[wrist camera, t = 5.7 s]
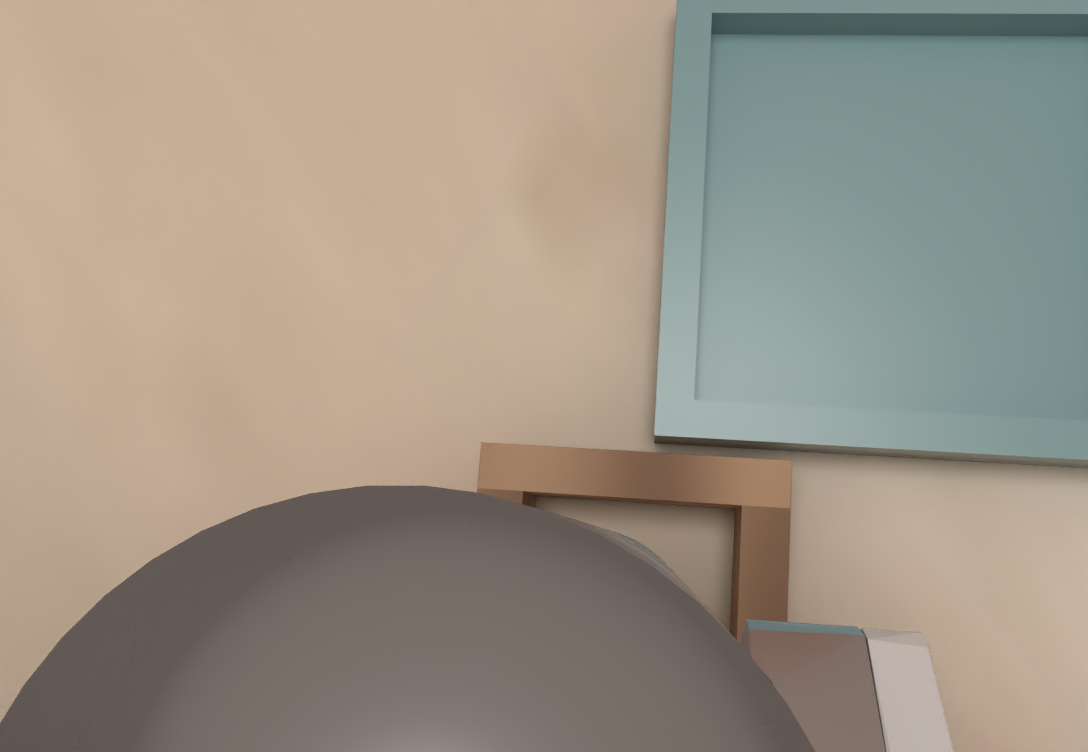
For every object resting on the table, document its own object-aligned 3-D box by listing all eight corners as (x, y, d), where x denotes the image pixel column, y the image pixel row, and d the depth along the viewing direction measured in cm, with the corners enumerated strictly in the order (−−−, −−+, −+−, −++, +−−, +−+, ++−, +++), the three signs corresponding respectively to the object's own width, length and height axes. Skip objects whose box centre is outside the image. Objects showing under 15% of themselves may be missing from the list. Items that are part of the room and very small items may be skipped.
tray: (654, 442, 28) (654, 435, 26) (677, 16, 30) (677, -21, 28) (1144, 470, 26) (1183, 465, 24) (1133, 18, 28) (1167, -21, 27)
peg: (459, 754, 15) (-155, 1457, 4) (478, 519, 16) (4, 457, 4) (694, 777, 15) (874, 1649, 3) (705, 535, 16) (890, 518, 4)
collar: (474, 740, 27) (455, 760, 25) (496, 451, 29) (480, 442, 26) (770, 769, 26) (781, 793, 24) (780, 467, 28) (792, 460, 25)
